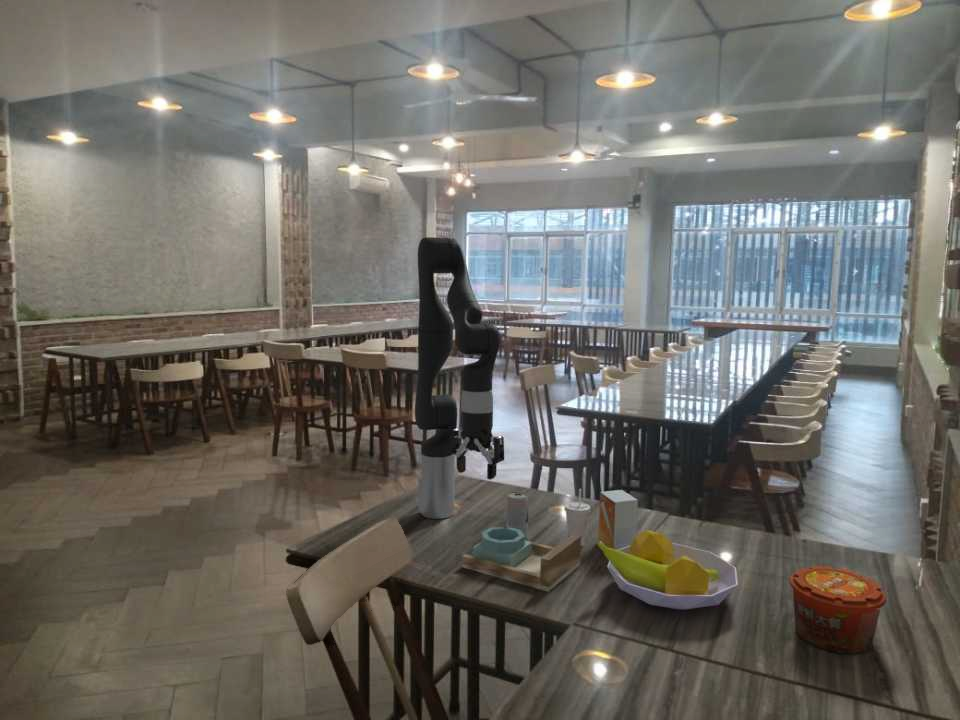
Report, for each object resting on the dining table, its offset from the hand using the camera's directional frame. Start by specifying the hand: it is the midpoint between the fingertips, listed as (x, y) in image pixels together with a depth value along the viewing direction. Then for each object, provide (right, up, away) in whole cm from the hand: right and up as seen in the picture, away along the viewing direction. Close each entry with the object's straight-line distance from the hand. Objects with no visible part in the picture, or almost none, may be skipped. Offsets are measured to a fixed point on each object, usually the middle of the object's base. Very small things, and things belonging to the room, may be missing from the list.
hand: (476, 475), depth 167 cm
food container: (+67, -25, -35) cm, 80 cm away
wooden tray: (+10, -20, -6) cm, 23 cm away
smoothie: (+25, -18, +7) cm, 32 cm away
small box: (+35, -19, +6) cm, 40 cm away
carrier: (+6, -18, -4) cm, 20 cm away
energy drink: (+10, -18, +8) cm, 22 cm away
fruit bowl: (+40, -22, -18) cm, 49 cm away
